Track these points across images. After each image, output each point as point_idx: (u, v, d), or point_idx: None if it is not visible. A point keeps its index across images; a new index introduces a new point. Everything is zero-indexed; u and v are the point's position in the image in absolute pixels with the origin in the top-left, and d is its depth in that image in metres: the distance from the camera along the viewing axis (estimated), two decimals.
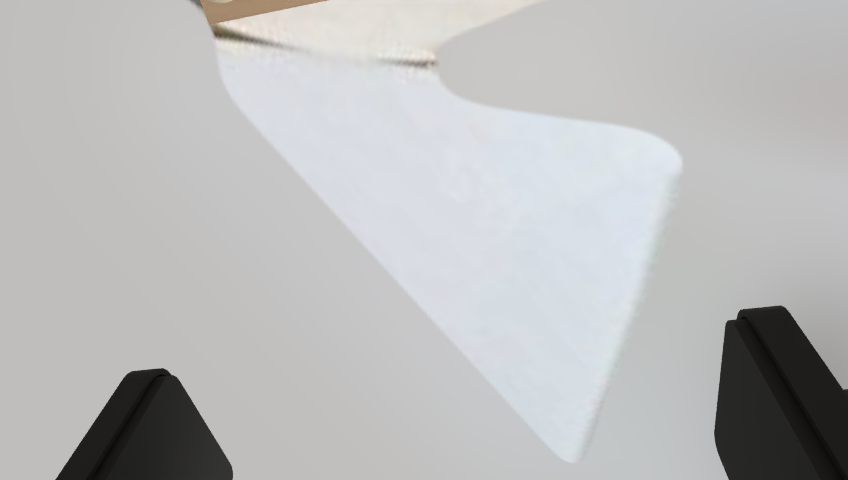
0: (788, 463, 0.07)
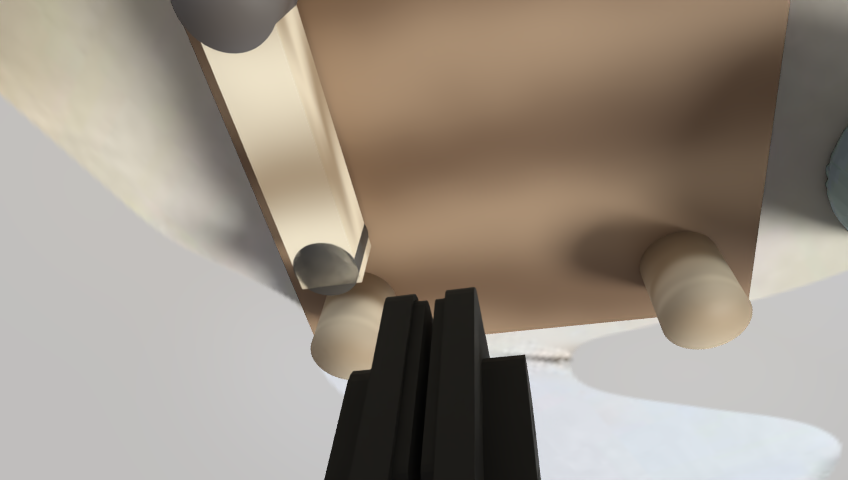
0: None
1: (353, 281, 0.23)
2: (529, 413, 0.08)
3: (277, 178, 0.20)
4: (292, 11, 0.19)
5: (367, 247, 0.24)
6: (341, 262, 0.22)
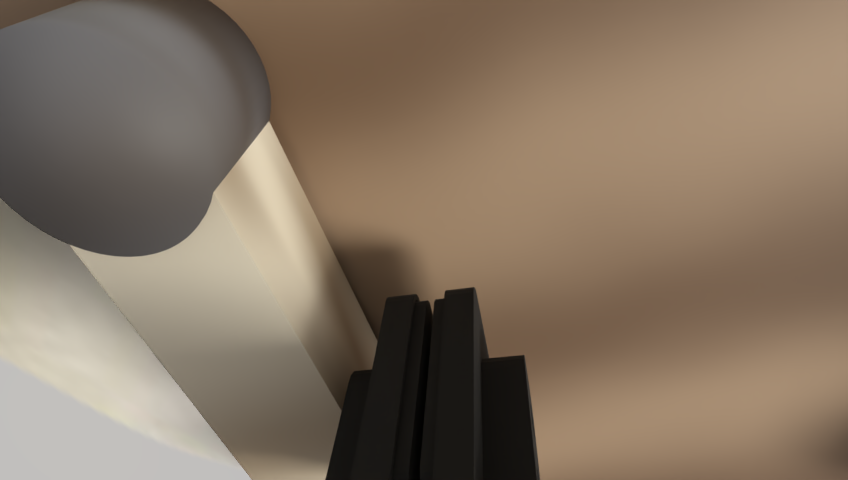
0: None
1: None
2: (528, 413, 0.08)
3: (266, 447, 0.11)
4: (259, 140, 0.09)
5: None
6: None
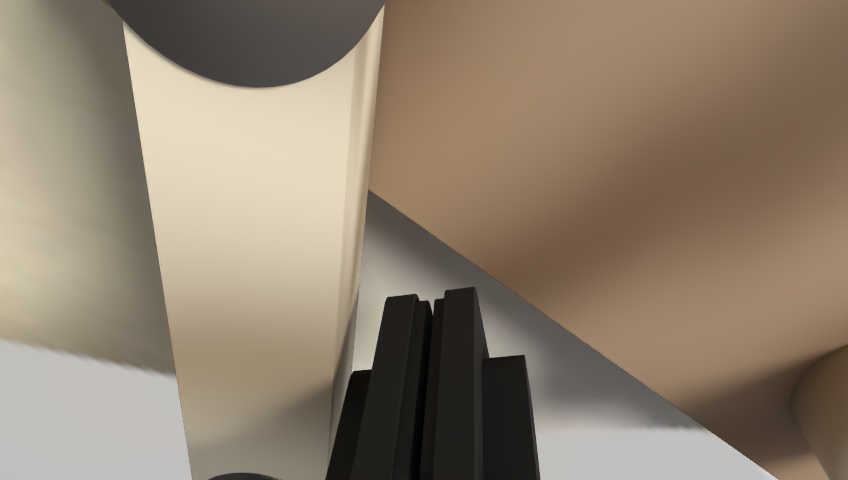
0: None
1: None
2: (529, 413, 0.08)
3: (220, 356, 0.09)
4: (378, 14, 0.08)
5: None
6: None
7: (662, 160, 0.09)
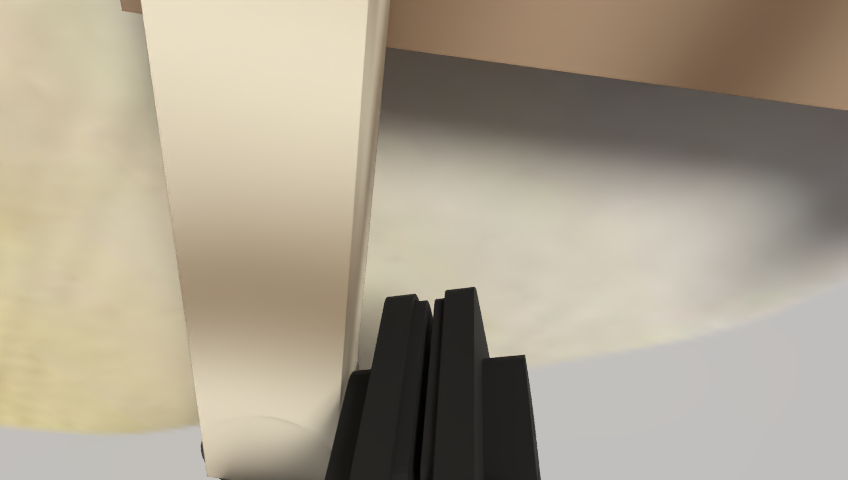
0: None
1: None
2: (529, 413, 0.08)
3: (229, 285, 0.09)
4: None
5: None
6: (306, 457, 0.11)
7: None
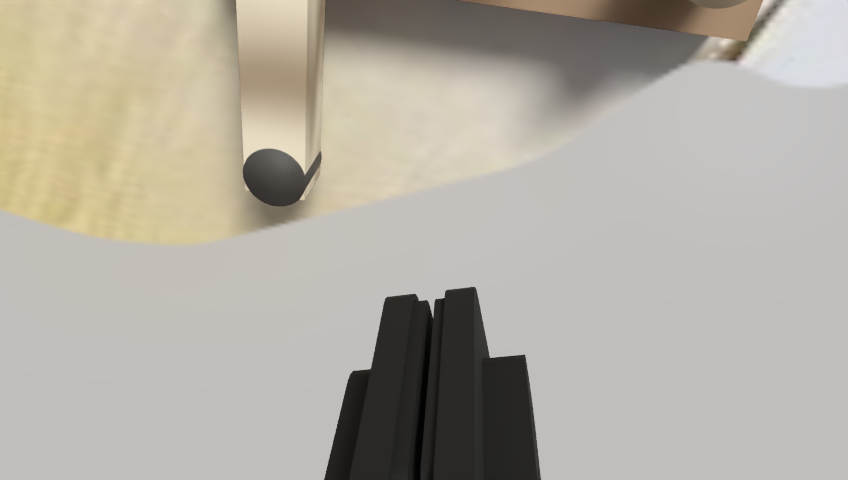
0: None
1: (296, 197, 0.24)
2: (529, 413, 0.08)
3: (259, 74, 0.21)
4: None
5: (316, 173, 0.25)
6: (291, 175, 0.23)
7: None
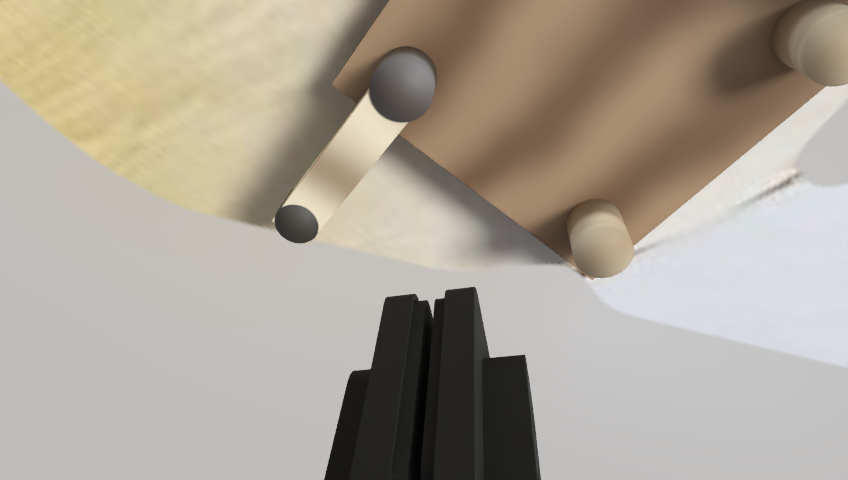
0: None
1: (303, 241, 0.34)
2: (529, 413, 0.08)
3: (328, 168, 0.31)
4: None
5: None
6: (309, 228, 0.33)
7: (507, 141, 0.32)
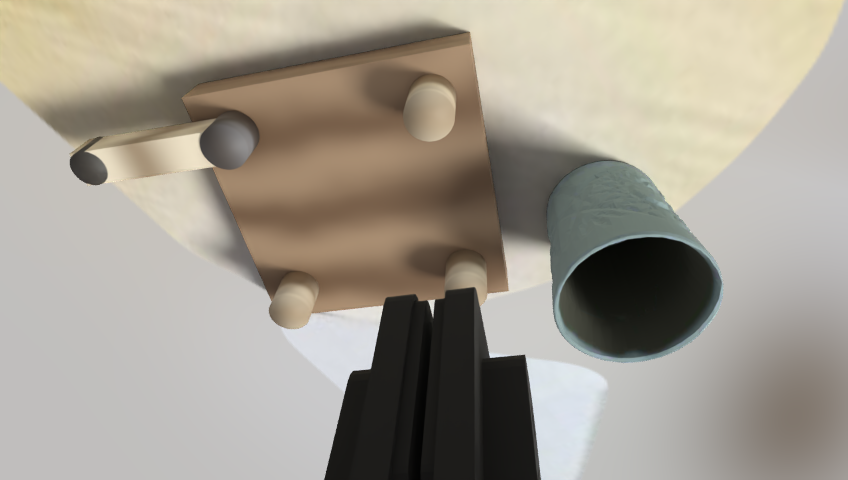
0: None
1: (86, 181, 0.41)
2: (529, 413, 0.08)
3: (139, 153, 0.39)
4: None
5: None
6: (97, 177, 0.40)
7: (277, 210, 0.44)
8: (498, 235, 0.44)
